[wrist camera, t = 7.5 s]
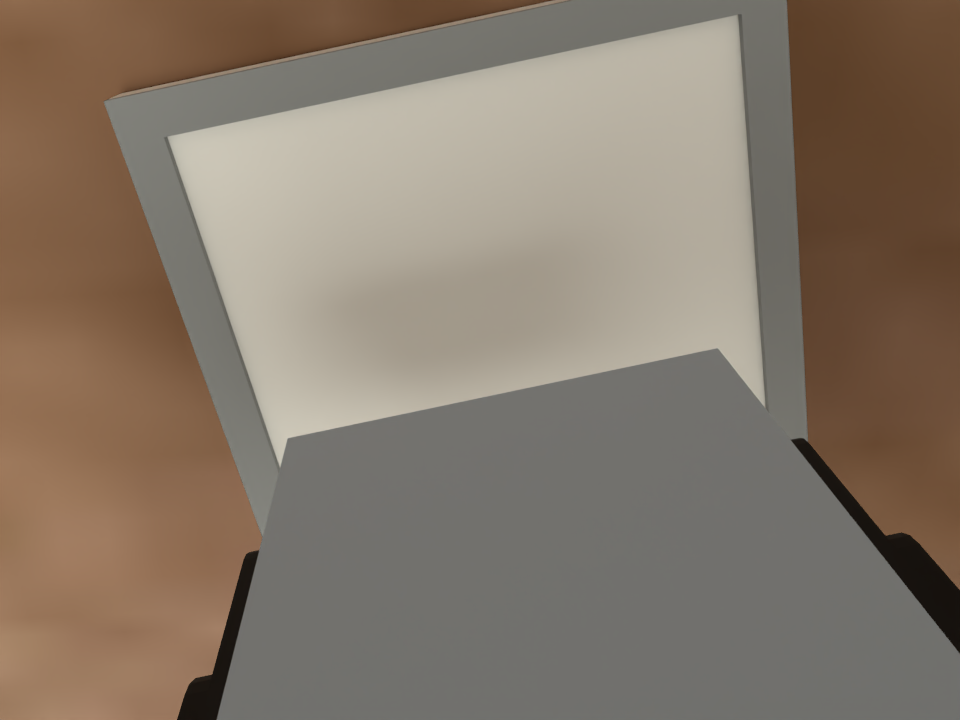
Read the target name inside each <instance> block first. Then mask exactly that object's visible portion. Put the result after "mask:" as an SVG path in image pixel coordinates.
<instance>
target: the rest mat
mask: <svg viewBox="0 0 960 720" xmlns="http://www.w3.org/2000/svg"><path fill="white" fill-rule="evenodd" d="M104 104H105V107H106V109H107V112H108V115H109V118H110V120H111V123H112V126H113V128H114V131H115V134H116V137H117V139H118V142H119V145H120V148H121V150H122V153H123V156H124V159H125V161H126V164H127V167H128V170H129V172H130V175H131V178H132V181H133V183H134V186H135V189H136V192H137V194H138V197H139V200H140V203H141V205H142V208H143V211H144V214H145V216H146V219H147V222H148V225H149V227H150V230H151V233H152V236H153V238H154V241H155V244H156V247H157V249H158V252H159V255H160V258H161V260H162V263H163V266H164V269H165V271H166V274H167V277H168V280H169V282H170V285H171V288H172V290H173V293H174V296H175V299H176V301H177V304H178V307H179V310H180V312H181V315H182V318H183V321H184V323H185V326H186V329H187V332H188V334H189V337H190V340H191V343H192V345H193V348H194V351H195V354H196V356H197V359H198V362H199V365H200V367H201V370H202V373H203V376H204V378H205V381H206V384H207V387H208V389H209V392H210V395H211V398H212V400H213V403H214V406H215V409H216V411H217V414H218V417H219V420H220V422H221V425H222V428H223V431H224V433H225V436H226V439H227V442H228V444H229V447H230V450H231V453H232V455H233V458H234V461H235V463H236V466H237V469H238V472H239V474H240V477H241V480H242V483H243V485H244V488H245V491H246V494H247V496H248V499H249V502H250V505H251V507H252V510H253V513H254V516H255V518H256V521H257V524H258V527H259V529H260V532H261V535H262V538H263V534H264V530H265V526H266V522H267V518H268V514H269V510H270V506H271V502H272V498H273V494H274V490H275V486H276V482H277V478H278V474H279V471H280V467H281V463H282V459H283V455H284V451H285V447H286V443H287V439H288V438H291V437H296V436H301V435H306V434H310V433H315V432H320V431H325V430H329V429H334V428H339V427H344V426H349V425H353V424H358V423H363V422H368V421H372V420H377V419H382V418H387V417H391V416H396V415H401V414H406V413H411V412H415V411H420V410H425V409H430V408H434V407H439V406H444V405H449V404H453V403H458V402H463V401H468V400H473V399H477V398H482V397H487V396H492V395H496V394H501V393H506V392H511V391H515V390H520V389H525V388H530V387H535V386H539V385H544V384H549V383H554V382H558V381H563V380H568V379H573V378H577V377H582V376H587V375H592V374H597V373H601V372H606V371H611V370H616V369H620V368H625V367H630V366H635V365H639V364H644V363H649V362H654V361H659V360H663V359H668V358H673V357H678V356H682V355H687V354H692V353H697V352H702V351H706V350H711V349H716V348H718V349H719V350H720V352H721V353H722V354H723V355H724V357H725V358H726V359H727V360H728V362H729V363H730V364H731V365H732V367H733V368H734V369H735V371H736V372H737V373H738V374H739V376H740V377H741V378H742V379H743V381H744V382H745V383H746V384H747V386H748V387H749V388H750V389H751V391H752V392H753V393H754V395H755V396H756V397H757V398H758V400H759V401H760V402H761V403H762V405H763V406H764V407H765V408H766V410H767V411H768V412H769V413H770V415H771V416H772V417H773V418H774V420H775V421H776V422H777V424H778V425H779V426H780V427H781V429H782V430H783V431H784V432H785V434H786V435H787V436H788V437H789V439H790V440H792V439H797V438H804V439H805V440H806V441H807V442H808V431H807V410H806V390H805V369H804V348H803V327H802V306H801V286H800V265H799V244H798V223H797V202H796V182H795V161H794V140H793V119H792V98H791V78H790V57H789V36H788V15H787V0H553V1H548V2H544V3H539V4H534V5H530V6H525V7H520V8H516V9H511V10H506V11H502V12H497V13H492V14H488V15H483V16H479V17H474V18H469V19H465V20H460V21H455V22H451V23H446V24H441V25H437V26H432V27H427V28H423V29H418V30H413V31H409V32H404V33H400V34H395V35H390V36H386V37H381V38H376V39H372V40H367V41H362V42H358V43H353V44H348V45H344V46H339V47H335V48H330V49H325V50H321V51H316V52H311V53H307V54H302V55H297V56H293V57H288V58H283V59H279V60H274V61H269V62H265V63H260V64H256V65H251V66H246V67H242V68H237V69H232V70H228V71H223V72H218V73H214V74H209V75H204V76H200V77H195V78H190V79H186V80H181V81H177V82H172V83H167V84H163V85H158V86H153V87H149V88H144V89H139V90H135V91H130V92H125V93H121V94H119V95H116V96H114V97H112V98H110V99H108V100H105V101H104Z"/></svg>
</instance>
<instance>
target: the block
mask: <svg viewBox="0 0 960 720" xmlns="http://www.w3.org/2000/svg"><path fill="white" fill-rule="evenodd" d="M217 720H960V653H959V652H958V651H957V650H956V648H955V647H954V646H953V644H952V643H951V642H950V641H949V639H948V638H947V637H946V636H945V634H944V633H943V632H942V631H941V629H940V628H939V627H938V626H937V624H936V623H935V622H934V620H933V619H932V618H931V617H930V615H929V614H928V613H927V612H926V610H925V609H924V608H923V607H922V605H921V604H920V603H919V602H918V600H917V599H916V598H915V596H914V595H913V594H912V593H911V591H910V590H909V589H908V588H907V586H906V585H905V584H904V583H903V581H902V580H901V579H900V578H899V576H898V575H897V574H896V573H895V571H894V570H893V569H892V567H891V566H890V565H889V564H888V562H887V561H886V560H885V559H884V557H883V556H882V555H881V554H880V552H879V551H878V550H877V549H876V547H875V546H874V545H873V543H872V542H871V541H870V540H869V538H868V537H867V536H866V535H865V533H864V532H863V531H862V530H861V528H860V527H859V526H858V525H857V523H856V522H855V521H854V519H853V518H852V517H851V516H850V514H849V513H848V512H847V511H846V509H845V508H844V507H843V506H842V504H841V503H840V502H839V501H838V499H837V498H836V497H835V495H834V494H833V493H832V492H831V490H830V489H829V488H828V487H827V485H826V484H825V483H824V482H823V480H822V479H821V478H820V477H819V475H818V474H817V473H816V472H815V470H814V469H813V468H812V466H811V465H810V464H809V463H808V461H807V460H806V459H805V458H804V456H803V455H802V454H801V453H800V451H799V450H798V449H797V448H796V446H795V445H794V444H793V442H792V441H791V440H790V439H789V437H788V436H787V435H786V434H785V432H784V431H783V430H782V429H781V427H780V426H779V425H778V424H777V422H776V421H775V420H774V418H773V417H772V416H771V415H770V413H769V412H768V411H767V410H766V408H765V407H764V406H763V405H762V403H761V402H760V401H759V400H758V398H757V397H756V396H755V395H754V393H753V392H752V391H751V389H750V388H749V387H748V386H747V384H746V383H745V382H744V381H743V379H742V378H741V377H740V376H739V374H738V373H737V372H736V371H735V369H734V368H733V367H732V365H731V364H730V363H729V362H728V360H727V359H726V358H725V357H724V355H723V354H722V353H721V352H720V350H719V349H718V348H716V349H711V350H706V351H702V352H697V353H692V354H687V355H682V356H678V357H673V358H668V359H663V360H659V361H654V362H649V363H644V364H639V365H635V366H630V367H625V368H620V369H616V370H611V371H606V372H601V373H597V374H592V375H587V376H582V377H577V378H573V379H568V380H563V381H558V382H554V383H549V384H544V385H539V386H535V387H530V388H525V389H520V390H515V391H511V392H506V393H501V394H496V395H492V396H487V397H482V398H477V399H473V400H468V401H463V402H458V403H453V404H449V405H444V406H439V407H434V408H430V409H425V410H420V411H415V412H411V413H406V414H401V415H396V416H391V417H387V418H382V419H377V420H372V421H368V422H363V423H358V424H353V425H349V426H344V427H339V428H334V429H329V430H325V431H320V432H315V433H310V434H306V435H301V436H296V437H291V438H288V439H287V443H286V447H285V451H284V455H283V459H282V463H281V467H280V471H279V474H278V478H277V482H276V486H275V490H274V494H273V498H272V502H271V506H270V510H269V514H268V518H267V522H266V526H265V530H264V534H263V538H262V542H261V546H260V550H259V554H258V558H257V562H256V566H255V570H254V574H253V578H252V582H251V585H250V589H249V593H248V597H247V601H246V605H245V609H244V613H243V617H242V621H241V625H240V629H239V633H238V637H237V641H236V645H235V649H234V653H233V657H232V661H231V665H230V669H229V673H228V677H227V681H226V685H225V689H224V693H223V696H222V700H221V704H220V708H219V712H218V716H217Z"/></svg>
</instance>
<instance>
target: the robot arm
mask: <svg viewBox="0 0 960 720" xmlns="http://www.w3.org/2000/svg"><path fill="white" fill-rule="evenodd" d="M791 441H792V442H793V444H794V445H795V446H796V448H797V449H798V450H799V451H800V453H801V454H802V455H803V456H804V458H805V459H806V460H807V461H808V463H809V464H810V465H811V466H812V468H813V469H814V470H815V472H816V473H817V474H818V475H819V477H820V478H821V479H822V480H823V482H824V483H825V484H826V485H827V487H828V488H829V489H830V490H831V492H832V493H833V494H834V495H835V497H836V498H837V499H838V501H839V502H840V503H841V504H842V506H843V507H844V508H845V509H846V511H847V512H848V513H849V514H850V516H851V517H852V518H853V519H854V521H855V522H856V523H857V525H858V526H859V527H860V528H861V530H862V531H863V532H864V533H865V535H866V536H867V537H868V538H869V540H870V541H871V542H872V543H873V545H874V546H875V547H876V549H877V550H878V551H879V552H880V554H881V555H882V556H883V557H884V559H885V560H886V561H887V562H888V564H889V565H890V566H891V567H892V569H893V570H894V571H895V573H896V574H897V575H898V576H899V578H900V579H901V580H902V581H903V583H904V584H905V585H906V586H907V588H908V589H909V590H910V591H911V593H912V594H913V595H914V596H915V598H916V599H917V600H918V602H919V603H920V604H921V605H922V607H923V608H924V609H925V610H926V612H927V613H928V614H929V615H930V617H931V618H932V619H933V620H934V622H935V623H936V624H937V626H938V627H939V628H940V629H941V631H942V632H943V633H944V634H945V636H946V637H947V638H948V639H949V641H950V642H951V643H952V644H953V646H954V647H955V648H956V650H957V651H958V652H959V653H960V590H959V589H958V588H957V587H956V586H955V584H954V583H953V582H952V581H951V580H950V579H949V577H948V576H947V575H946V574H945V573H944V572H943V571H942V569H941V568H940V567H939V566H938V565H937V564H936V563H935V561H934V560H933V559H932V558H931V557H930V556H929V555H928V553H927V552H926V551H925V550H924V549H923V548H922V546H921V545H920V544H919V543H918V542H917V541H915V540H914V539H913V538H912V537H911V536H910V535H907V534H904V533H897V534H892V535H888V536H885V535H884V534H883V532H882V531H881V530H880V529H879V528H878V526H877V525H876V524H875V523H874V522H873V520H872V519H871V518H870V517H869V515H868V514H867V513H866V512H865V511H864V509H863V508H862V507H861V506H860V505H859V503H858V502H857V501H856V500H855V498H854V497H853V496H852V495H851V494H850V492H849V491H848V490H847V489H846V488H845V486H844V485H843V484H842V483H841V482H840V480H839V479H838V478H837V477H836V475H835V474H834V473H833V472H832V471H831V469H830V468H829V467H828V466H827V465H826V463H825V462H824V461H823V460H822V458H821V457H820V456H819V455H818V454H817V452H816V451H815V450H814V449H813V448H812V446H811V445H810V444H809V443H808V442H807V441H806V440H805V439H804V438H797V439H792V440H791ZM258 554H259V550H258V551H253V552H249V553H248V554H246V556H245V558H244V561H243V564H242V568H241V572H240V575H239V579H238V583H237V586H236V590H235V594H234V597H233V601H232V605H231V608H230V612H229V616H228V619H227V623H226V627H225V630H224V634H223V638H222V641H221V645H220V648H219V652H218V656H217V659H216V663H215V667H214V670H213V674H212V675H209V676H204V677H199V678H195V679H194V680H193V681H192V682H191V683H190V684H189V686H188V689H187V691H186V693H185V696H184V699H183V702H182V706H181V709H180V712H179V716H178V719H177V720H217V716H218V712H219V708H220V704H221V700H222V696H223V693H224V689H225V685H226V681H227V677H228V673H229V669H230V665H231V661H232V657H233V653H234V649H235V645H236V641H237V637H238V633H239V629H240V625H241V621H242V617H243V613H244V609H245V605H246V601H247V597H248V593H249V589H250V585H251V582H252V578H253V574H254V570H255V566H256V562H257V558H258Z"/></svg>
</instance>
